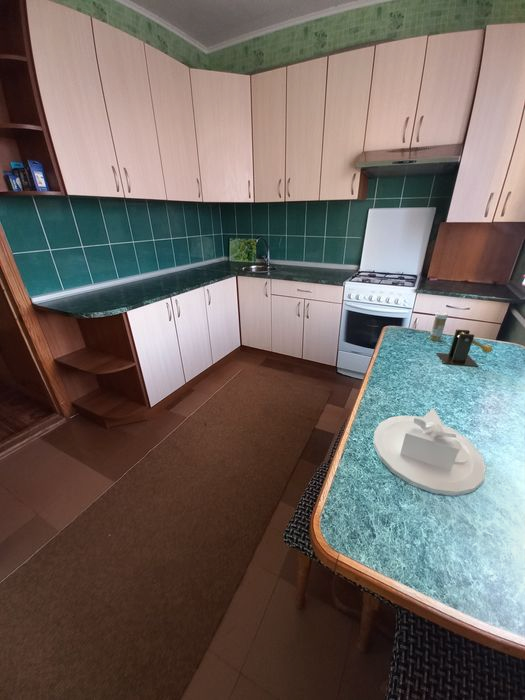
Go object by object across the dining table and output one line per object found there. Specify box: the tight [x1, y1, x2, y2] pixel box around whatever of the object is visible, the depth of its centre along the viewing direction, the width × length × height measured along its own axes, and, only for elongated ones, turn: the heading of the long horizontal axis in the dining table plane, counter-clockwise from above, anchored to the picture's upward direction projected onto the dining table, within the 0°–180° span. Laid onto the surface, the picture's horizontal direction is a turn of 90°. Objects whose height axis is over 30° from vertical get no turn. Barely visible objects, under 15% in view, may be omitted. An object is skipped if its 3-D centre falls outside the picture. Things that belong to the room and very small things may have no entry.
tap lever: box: [457, 332, 493, 354], centre depth 109 cm, size 13×3×3 cm, turn 78°
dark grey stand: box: [435, 329, 479, 368], centre depth 111 cm, size 12×9×13 cm
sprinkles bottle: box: [429, 311, 449, 342], centre depth 128 cm, size 5×5×14 cm
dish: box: [372, 407, 487, 497], centre depth 71 cm, size 25×25×11 cm
